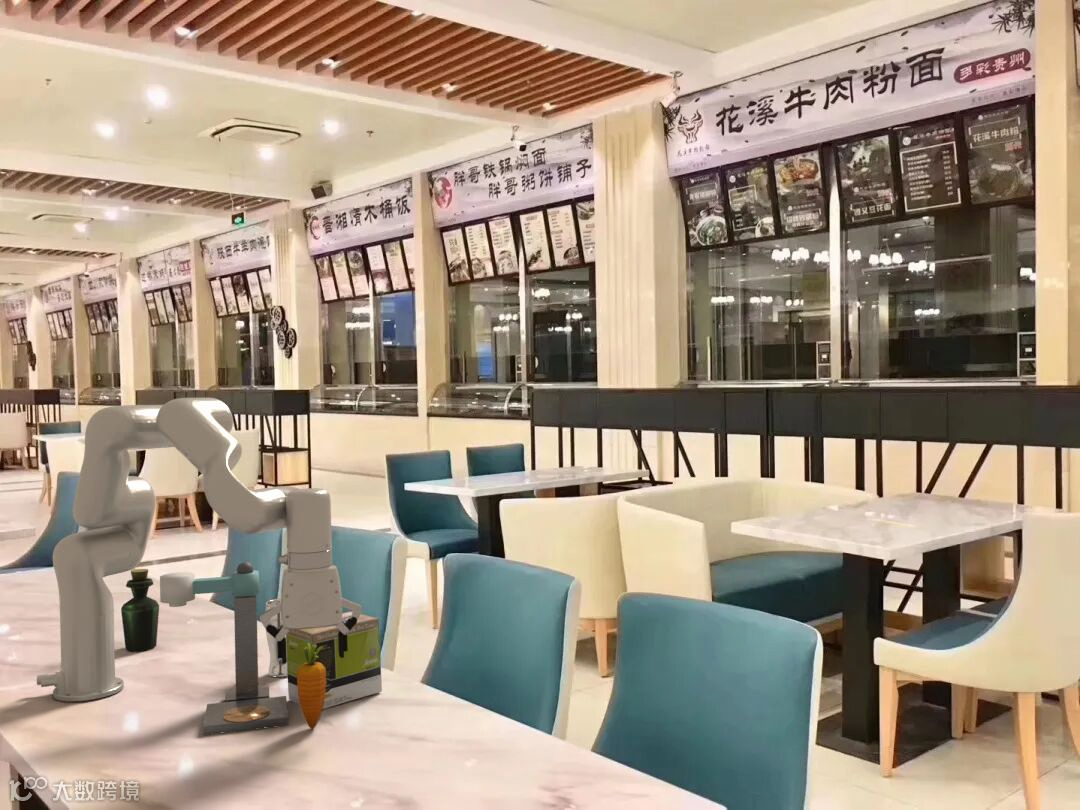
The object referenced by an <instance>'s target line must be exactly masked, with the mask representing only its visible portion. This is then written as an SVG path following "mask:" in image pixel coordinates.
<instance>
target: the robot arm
mask: <svg viewBox="0 0 1080 810" xmlns="http://www.w3.org/2000/svg"><path fill="white" fill-rule="evenodd" d="M233 424H234V417H233V413H232V412H231V410H230V408H229V406H228V405H227V404H225V403H224V402H223V401H222V400H220V399H217V398H216V397H180V398H174V399H172V400H169V401H167V402H166V403H164V404H127V405H125V404H123V405H112V406H108V407H105V408H101V409H99V410H97V411H96V412H95V413H94V414H92V415H91V417H90V418H89V420H88V422H87V424H86V428H85V432H84V433H85V434H84V452H83V453H84V454H83V460H82V463H81V468H80V473H79V476H78V482H77V485H76V490H75V493H74V500H73V503H72V504H73V506H72V515H73V520H74V521H75V523H76V524H77V525H78V526H80V527H82V528H86V529H88V530H85V531H80V532H75V533H72V534H69V535H67V536H65V537H64V538H62V539H61V540H60V541H58V543H57V544H56V545H55V547H54V549H53V553H52V564H53V570H54V573H55V577H56V581H57V582H56V583H57V588H58V596H59V598H58V600H59V618H60V619H59V620H60V621H59V624H60V625H59V626H60V627H59V628H60V630H59V632H60V633H59V634H60V671H56V672H55V673H52V674H48V673H46V674H39V675H37V676H36V686H40V687H41V688H44V687H45V688H46V687H54V688H53V690H52V698H53V699H55V700H57V701H61V702H71V703H72V702H74V703H75V702H87V701H93V700H98V699H104V698H106V697H110V696H113V695H115V694H117V693H119V692H121V691H122V690H123V689H124V687H125V685H124V684H125V681H124V680H123V679H122V678H120V677H116V662H115V660H116V659H115V658H116V657H115V656H116V653H115V616H114V615H115V614H114V613H115V610H114V605H115V604H114V598H113V597H114V596H113V594H112V592H111V590H110V588H109V587H108V585H107V584H106V583H105V581H104V578H105V577H108V576H113V575H116V574H122V573H126V572H128V571H131V570H134V569H135V568H136V567H137V566H139V565H140V563H141V561H142V560H143V557H144V554H145V552H146V548H147V544H148V540H149V536H150V532H151V528H152V525H153V519H154V516H155V510H156V495H155V492H154V489H153V487H152V485H151V484H150V483H149V481H147V480H146V479H145V478H143V477H140V476H135V475H129V474H130V472H131V467H132V463H131V456H130V453H129V451H131V450H133V451H135V450H152V449H162V448H165V449H166V448H168V449H169V448H175V450H177V451H178V452H179V453H180V454H181V455H182V456H183V457H184V458H185V459H187V461H188V462H189V463H190V464H192V465H193V466H194V468H195V469H196V470H198V471H199V473H200V474H201V475H202V488H203V491H204V496H205V498H206V500H207V501H206V502H207V503H208V504H209V506H210V507H211V508H212V510H213V511H214V512H215V513H216V514H217V515H218V516H219V517H220V518H221V519H222V520H223V521H224V522H225V523H226V524H227V525H229V527H230V528H231V529H234V531H237V532H239V533H241V534H244V535H249V536H250V535H258V534H262V533H263V534H264V533H266V532H271V531H278V530H283V529H286V546H287V547H286V548H287V549H286V551H287V552H285V554H283V555H278V564H281V565H282V564H283V565H285V566H287V568H285V569H284V570H283V575H282V579H281V591H280V592H281V593H280V599H281V603H279V604H277V605H276V606H274V607H272V608H271V609H269V610H267V611H266V610H265V611H264V612H263V613H261V614H260V615H259V620H260V622H261V623H262V625H263V627H264V629H265V632H266V631H267V632H268V633H269V634H271V635H272V636H273V637H274V638H275V639H276V640H277V646H278V658H282V664H286V663H287V656H286V638H285V635H286V634H287V633H288V631H289V630H300V629H311V628H321V627H330V626H336V627H337V628H338V629H339V632H338V652H339V656H340V657H341V658H344V652H345V651H348V646H347V634H348V633H349V631H350V630H351V629H352V627H353V626H354V625H355V624H356V623H357V620H358V618H359V616H360V614H362V612H363V607H362V605H361V604H359V603H356V602H354V601H351V600H349V599H346V598H344V597H342V588H341V581H340V574H339V570H338V567H337V566H336V565H333V541H332V538H333V537H332V534H333V533H332V515H331V514H332V512H331V511H332V510H331V509H332V508H331V507H332V506H331V505H332V504H331V496H330V492H329V491H327V489H324V488H317V487H316V488H315V487H313V488H312V487H311V488H308V487H307V488H298V487H295V486H294V487H293V486H289V485H288V486H286V485H281V486H279V485H278V486H273V487H264V488H257V489H256V488H255V489H251V490H250V489H249V488H248V487H246V485H244V484H243V483H242V482H241V481H240V480H239V479H238V478H237V477H236V476H235V475H234V474H233V472H232V470H233V469H234V468H235V467H236V465H237V464H238V462H239V461H240V459H241V457H242V454H243V451H242V449H243V448H242V445H241V443H240V442H239V440H238V439H236V438H235V436H233V435H232V434H231V431H232V429H233ZM128 450H129V451H128ZM89 529H90V530H89ZM343 608H345V609H348V610H350V611H352V615H351V617H350V618H349V619H348V620H347V621H346V622H345V623H344V622H343V621H342V613H343ZM280 612H281V620H282V625H281V626H280V628H279V629H277V628H276V627H275V626H274V625H273V624H272V623H271V621H270V618H272V617H273V616H275V615H277V614H278V613H280Z"/></svg>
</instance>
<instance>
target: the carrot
mask: <svg viewBox="0 0 1080 810" xmlns="http://www.w3.org/2000/svg"><path fill="white" fill-rule="evenodd" d="M316 646H317V645H315V644H313V645H312V647H310V643H307V644H306V647H305V648H304V654H305V657H306V660H307V663H304V664H303V665H301V666H299V667H298V669H297V686H298V696H299V702H300V705H299V706H300V710H301V712H302V715H303V718H304V720H305V722H306V724H307V726H308V727H309V729H311V730H314V729H315V728H316V726H317V725H318V723H319V721H320V718H321V716H322V713H323V710H324V709H323V705H324V699H325V691H326V669H325V667H324V666H323V665H322V664H321V663H319V662H315V661H316V659H317V658H318V656H317V654H318V653H319V651H320V650H321V649H323V646H320V647H319V648H318V649H317V650H316V652H315V649H316Z"/></svg>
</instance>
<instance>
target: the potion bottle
mask: <svg viewBox="0 0 1080 810" xmlns="http://www.w3.org/2000/svg"><path fill="white" fill-rule="evenodd" d="M148 573H149V569H148V568H136V569H135V568H134V569H131V570H130V575H131V578H132V579H128V580H127V582H126V584H125V587H126V588H129V589H130V590H131V593H132V598H131V599H129V600H128V601H126V602H125V603H123V604H122V606H121V607H120V612H121V613H120V614H121V619H122V620H121V621H122V628H123V638H124V645H125V646H124V647H125V650H126V651H127V652H131V653H133V652H134V653H135V652H136V653H138V652H139V653H141V652H147V651H150V650H153V649H155V648H156V647H157V645H158V644H157V643H158V642H157V641H158V627H159V616H160V615H159V614H160V604H159V603H158V602H157V600H155V599H153V598H152V597H150V596H148V592H149V587H152V586H153V585H154V581H153V579H152V578H149V577H148V575H149V574H148Z"/></svg>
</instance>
